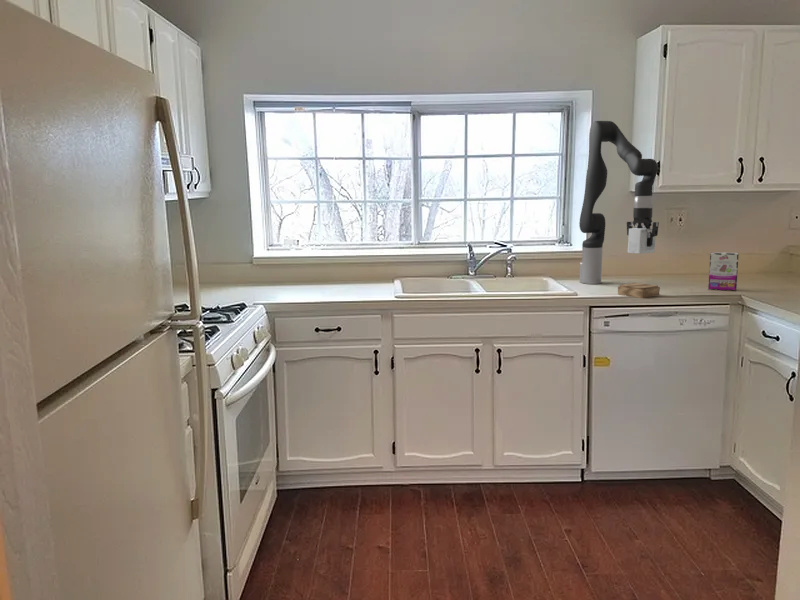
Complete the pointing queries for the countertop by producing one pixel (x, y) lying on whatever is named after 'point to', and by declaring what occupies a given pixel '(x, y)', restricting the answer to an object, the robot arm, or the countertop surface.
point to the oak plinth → (638, 290)
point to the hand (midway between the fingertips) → (641, 246)
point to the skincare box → (639, 241)
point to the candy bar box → (723, 271)
